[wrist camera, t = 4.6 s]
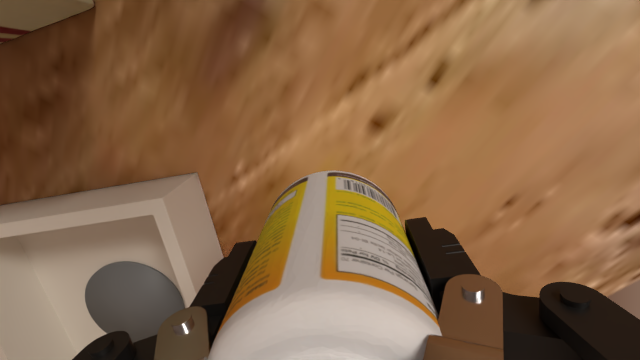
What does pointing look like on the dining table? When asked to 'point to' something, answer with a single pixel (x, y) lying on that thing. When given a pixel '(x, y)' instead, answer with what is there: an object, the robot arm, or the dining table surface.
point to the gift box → (35, 14)
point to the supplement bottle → (329, 280)
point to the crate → (101, 264)
